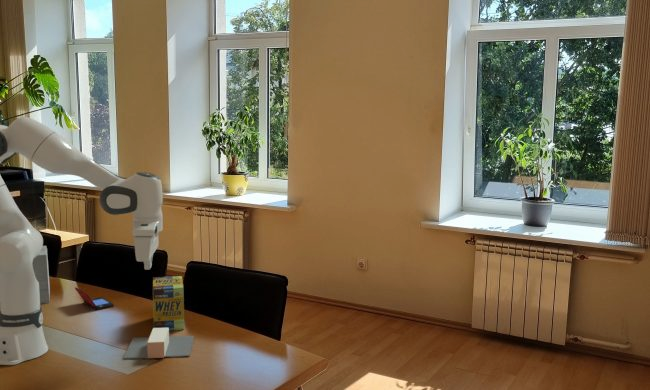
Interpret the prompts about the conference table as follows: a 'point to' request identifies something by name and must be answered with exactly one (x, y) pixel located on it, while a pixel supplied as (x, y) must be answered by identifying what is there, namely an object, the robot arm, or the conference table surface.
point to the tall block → (158, 343)
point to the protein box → (168, 302)
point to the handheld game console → (95, 301)
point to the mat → (175, 347)
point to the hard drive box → (42, 274)
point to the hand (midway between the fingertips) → (148, 268)
